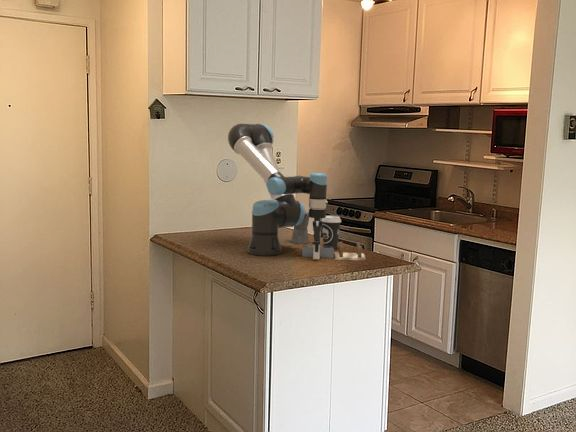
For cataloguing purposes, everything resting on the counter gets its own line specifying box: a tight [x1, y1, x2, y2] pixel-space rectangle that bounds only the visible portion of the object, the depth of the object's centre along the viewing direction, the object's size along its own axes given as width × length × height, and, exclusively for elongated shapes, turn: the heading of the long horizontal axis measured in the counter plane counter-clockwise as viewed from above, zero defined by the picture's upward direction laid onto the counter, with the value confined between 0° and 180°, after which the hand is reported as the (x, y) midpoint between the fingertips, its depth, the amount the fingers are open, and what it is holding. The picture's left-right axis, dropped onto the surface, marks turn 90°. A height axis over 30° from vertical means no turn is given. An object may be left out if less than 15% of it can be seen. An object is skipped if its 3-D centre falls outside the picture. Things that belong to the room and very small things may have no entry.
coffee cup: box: [320, 215, 342, 250], centre depth 292 cm, size 10×10×15 cm
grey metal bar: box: [301, 244, 335, 259], centre depth 274 cm, size 14×5×4 cm, turn 88°
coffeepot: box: [291, 210, 310, 245], centre depth 307 cm, size 15×9×18 cm, turn 25°
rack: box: [334, 241, 366, 262], centre depth 273 cm, size 13×11×6 cm
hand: (316, 256), depth 274 cm, fingers open, 13 cm apart
